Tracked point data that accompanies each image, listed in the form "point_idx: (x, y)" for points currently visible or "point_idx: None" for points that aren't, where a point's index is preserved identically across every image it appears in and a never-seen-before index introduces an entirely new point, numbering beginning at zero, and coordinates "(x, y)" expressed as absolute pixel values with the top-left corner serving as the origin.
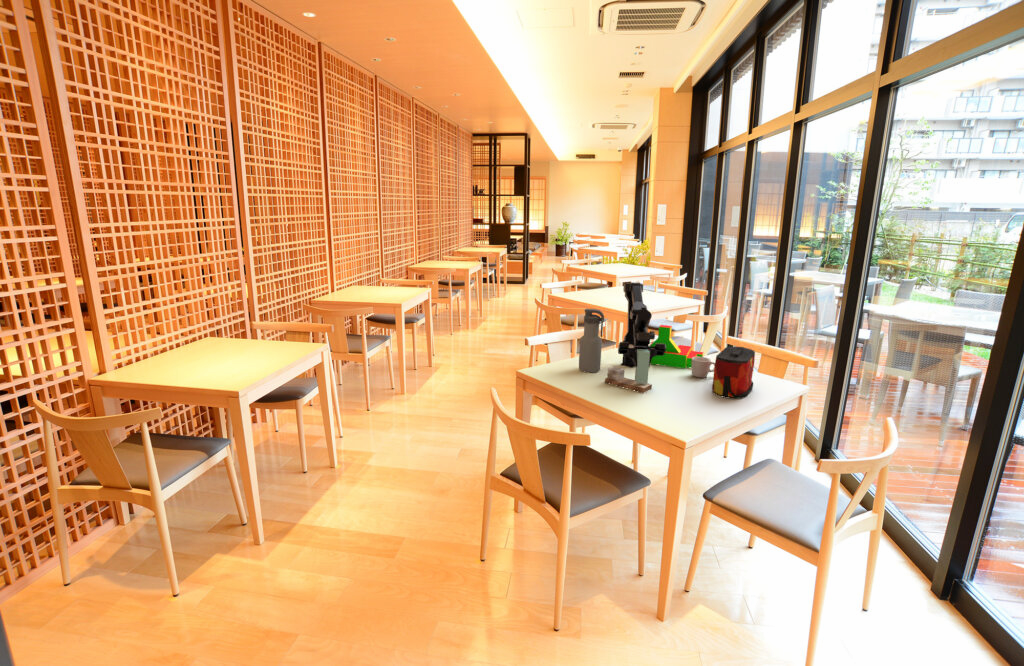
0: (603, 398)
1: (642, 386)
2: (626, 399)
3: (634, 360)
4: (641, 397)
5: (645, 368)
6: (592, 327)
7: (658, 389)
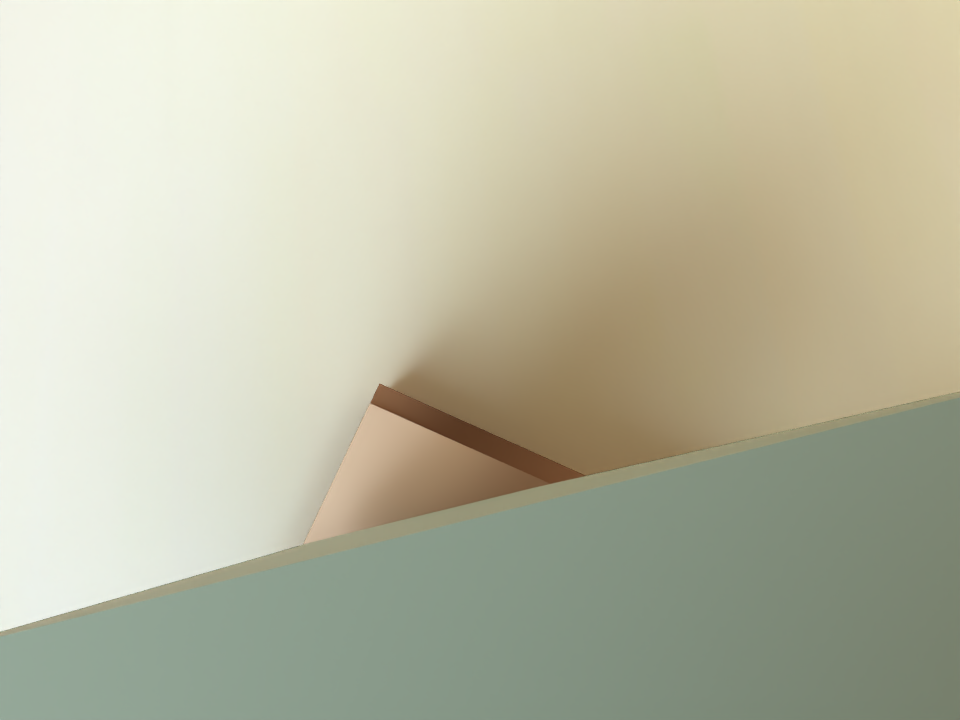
0: (854, 20)
1: (404, 476)
2: (581, 64)
3: None
4: (391, 202)
5: (372, 529)
6: None
7: None
